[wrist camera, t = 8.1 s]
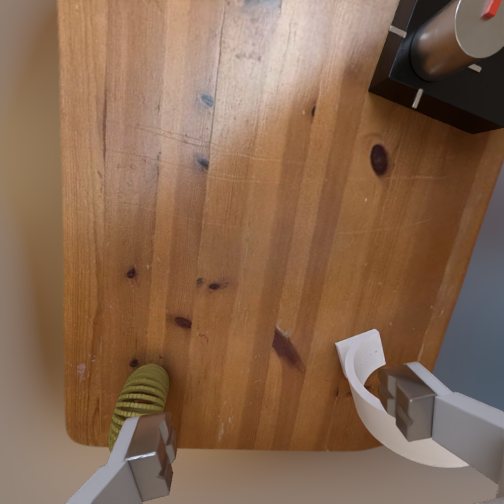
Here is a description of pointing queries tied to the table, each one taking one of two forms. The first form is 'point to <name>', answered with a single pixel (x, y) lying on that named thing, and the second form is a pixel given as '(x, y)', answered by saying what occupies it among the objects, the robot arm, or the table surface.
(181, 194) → the table surface
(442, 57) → the dial
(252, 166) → the table surface
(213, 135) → the table surface
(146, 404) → the sculpture
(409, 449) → the headphone stand
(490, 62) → the panel
